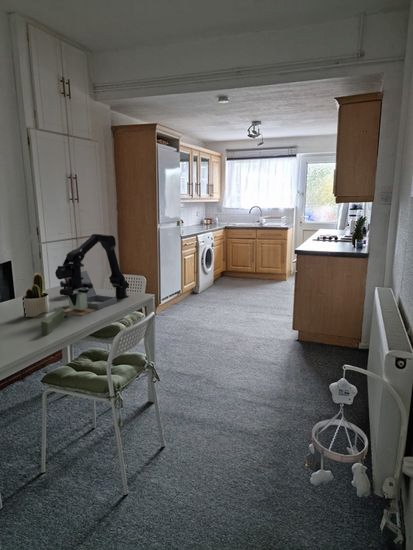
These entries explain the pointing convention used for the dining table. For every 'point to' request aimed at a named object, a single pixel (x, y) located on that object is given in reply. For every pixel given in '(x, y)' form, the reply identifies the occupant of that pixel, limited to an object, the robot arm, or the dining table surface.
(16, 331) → the dining table surface
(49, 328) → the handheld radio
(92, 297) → the equipment case
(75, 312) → the board
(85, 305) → the block
